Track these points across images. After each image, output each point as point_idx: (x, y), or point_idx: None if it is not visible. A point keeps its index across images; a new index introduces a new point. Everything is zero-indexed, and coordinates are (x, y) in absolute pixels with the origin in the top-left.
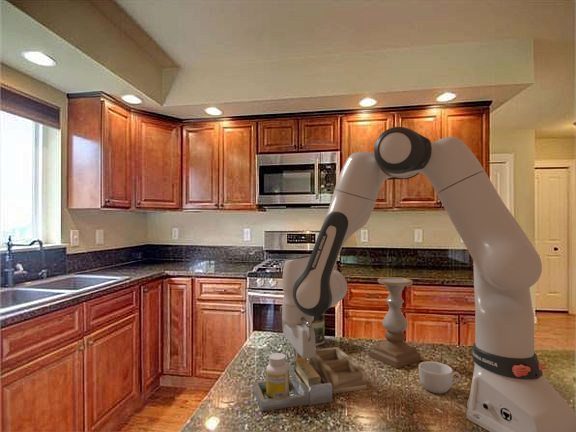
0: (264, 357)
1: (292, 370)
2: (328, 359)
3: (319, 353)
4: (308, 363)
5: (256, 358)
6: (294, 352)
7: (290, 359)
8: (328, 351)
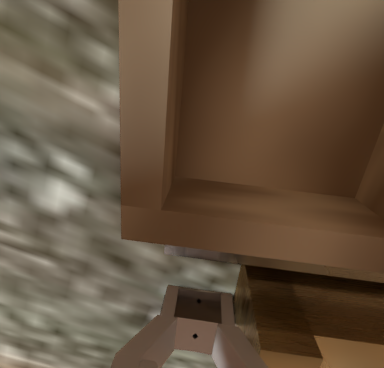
0: (24, 334)
1: None
2: (185, 58)
3: (168, 152)
4: (367, 348)
5: (31, 359)
6: (163, 363)
7: (66, 252)
8: (175, 46)
